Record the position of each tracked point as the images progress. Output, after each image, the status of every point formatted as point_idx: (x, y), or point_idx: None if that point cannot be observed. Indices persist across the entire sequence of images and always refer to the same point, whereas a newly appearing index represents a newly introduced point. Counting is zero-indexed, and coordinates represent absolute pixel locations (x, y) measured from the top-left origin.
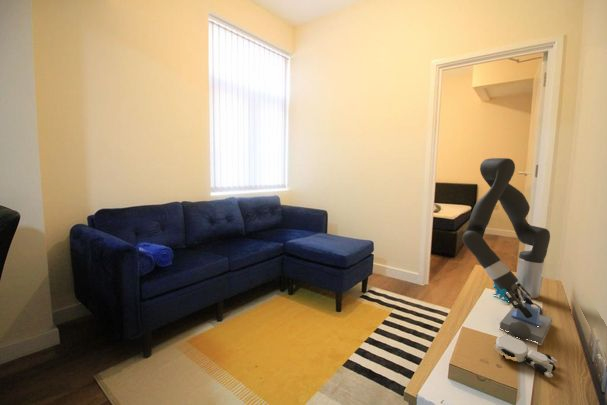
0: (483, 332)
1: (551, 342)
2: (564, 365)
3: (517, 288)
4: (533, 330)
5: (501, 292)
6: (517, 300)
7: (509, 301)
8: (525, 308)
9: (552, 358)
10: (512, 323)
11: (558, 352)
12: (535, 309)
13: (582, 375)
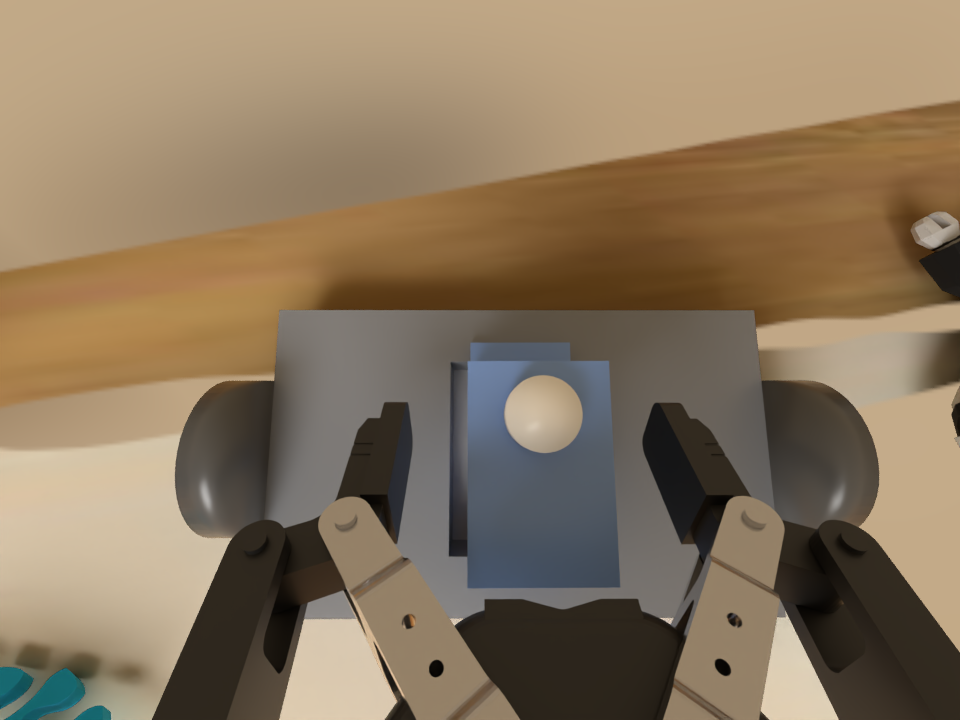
0: None
1: (601, 287)
2: (832, 201)
3: None
4: (691, 377)
5: None
6: (926, 628)
7: (76, 683)
8: (718, 482)
9: (951, 229)
10: (854, 522)
11: (703, 240)
12: (582, 392)
13: (850, 130)
